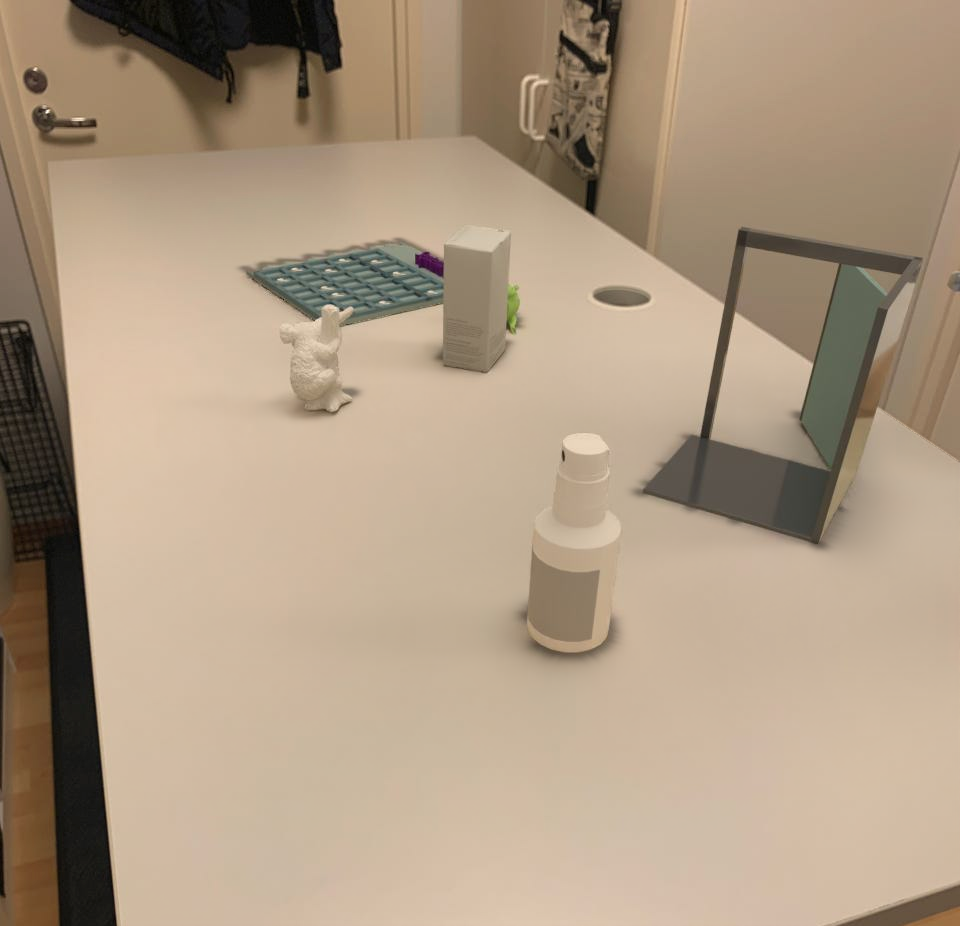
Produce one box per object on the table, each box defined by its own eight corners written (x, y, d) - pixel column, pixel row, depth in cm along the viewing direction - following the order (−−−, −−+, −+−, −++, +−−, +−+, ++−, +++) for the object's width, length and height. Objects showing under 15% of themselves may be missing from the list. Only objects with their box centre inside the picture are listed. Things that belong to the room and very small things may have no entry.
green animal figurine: (472, 330, 132) (473, 289, 128) (479, 316, 136) (480, 276, 132) (516, 334, 131) (518, 292, 127) (521, 320, 135) (523, 279, 132)
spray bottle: (518, 615, 82) (529, 425, 70) (594, 608, 83) (617, 419, 71) (536, 666, 76) (551, 469, 65) (617, 658, 77) (645, 462, 66)
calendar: (245, 275, 148) (243, 260, 146) (398, 245, 161) (398, 231, 159) (327, 330, 131) (325, 314, 130) (491, 292, 144) (491, 276, 142)
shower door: (889, 477, 101) (949, 299, 89) (834, 476, 101) (887, 298, 89) (848, 419, 111) (897, 254, 99) (799, 419, 111) (841, 253, 99)
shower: (853, 484, 100) (923, 257, 86) (815, 553, 90) (888, 309, 75) (693, 441, 107) (732, 225, 92) (640, 501, 97) (675, 268, 82)
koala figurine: (360, 392, 115) (353, 294, 108) (360, 417, 110) (353, 316, 103) (290, 394, 115) (279, 295, 107) (287, 419, 109) (274, 317, 102)
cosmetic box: (463, 343, 128) (464, 223, 118) (509, 350, 126) (514, 229, 117) (440, 366, 122) (440, 241, 112) (489, 374, 120) (492, 248, 110)
